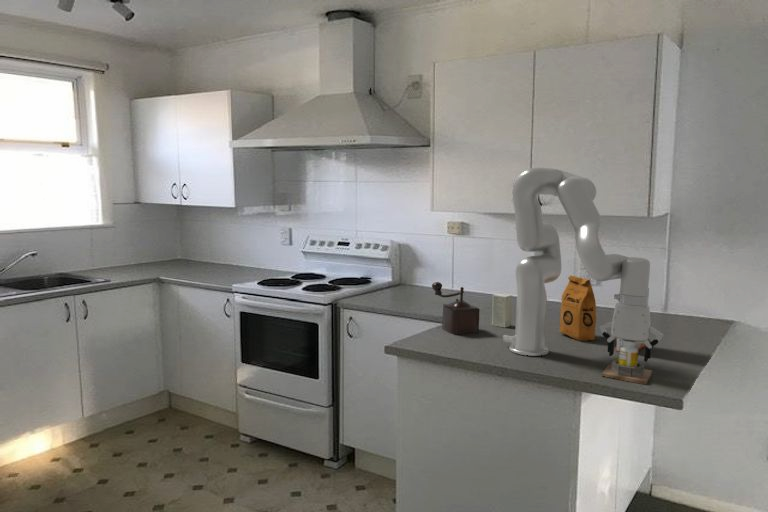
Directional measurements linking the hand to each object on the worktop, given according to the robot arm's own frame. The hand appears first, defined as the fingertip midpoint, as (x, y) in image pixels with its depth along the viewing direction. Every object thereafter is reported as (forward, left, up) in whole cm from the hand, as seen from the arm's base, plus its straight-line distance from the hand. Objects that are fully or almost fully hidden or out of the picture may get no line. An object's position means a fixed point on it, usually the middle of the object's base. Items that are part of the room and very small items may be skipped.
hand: (628, 357), depth 181 cm
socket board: (0, 0, -5) cm, 5 cm away
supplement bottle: (0, 0, -4) cm, 5 cm away
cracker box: (-4, +32, -6) cm, 33 cm away
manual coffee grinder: (-64, +18, -6) cm, 66 cm away
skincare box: (-52, +37, -6) cm, 64 cm away
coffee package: (-23, +37, -6) cm, 44 cm away
